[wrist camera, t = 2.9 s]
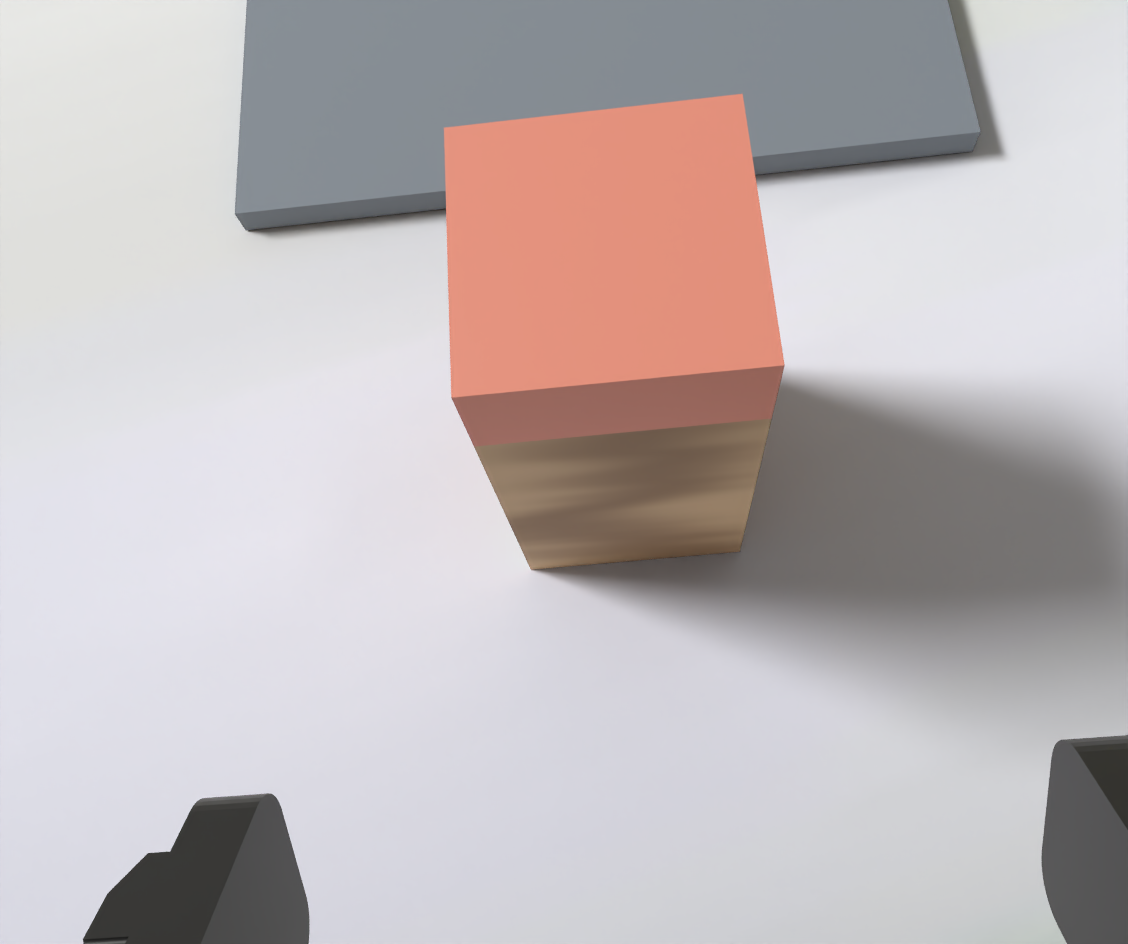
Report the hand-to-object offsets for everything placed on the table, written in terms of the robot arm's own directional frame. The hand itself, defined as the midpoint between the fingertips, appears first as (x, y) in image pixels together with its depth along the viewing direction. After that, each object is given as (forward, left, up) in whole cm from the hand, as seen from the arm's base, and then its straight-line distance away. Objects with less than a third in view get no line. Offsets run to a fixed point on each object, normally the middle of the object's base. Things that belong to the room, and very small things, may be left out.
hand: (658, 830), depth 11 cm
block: (0, +9, -13) cm, 16 cm away
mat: (0, +24, -13) cm, 27 cm away
